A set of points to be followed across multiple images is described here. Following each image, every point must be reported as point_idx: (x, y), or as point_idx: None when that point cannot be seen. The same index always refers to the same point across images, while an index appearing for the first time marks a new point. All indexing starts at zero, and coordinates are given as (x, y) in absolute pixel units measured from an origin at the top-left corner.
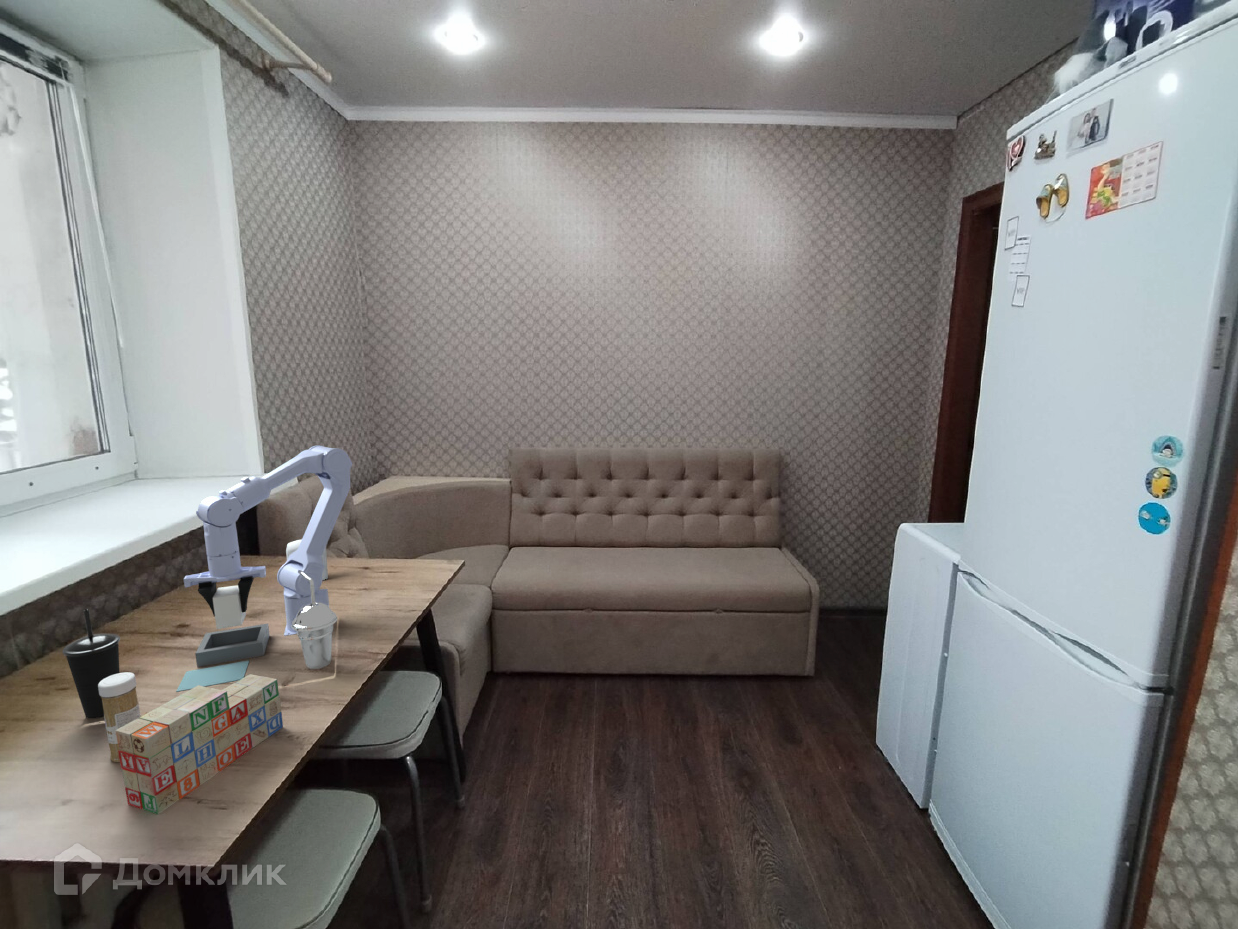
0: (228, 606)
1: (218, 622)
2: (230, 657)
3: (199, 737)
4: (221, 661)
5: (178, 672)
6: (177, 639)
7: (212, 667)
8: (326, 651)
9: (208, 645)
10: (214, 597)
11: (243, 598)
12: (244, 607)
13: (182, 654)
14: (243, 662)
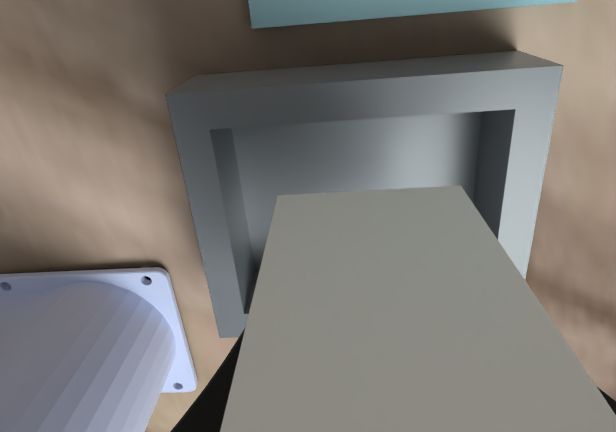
0: (370, 314)
1: (456, 211)
2: (355, 69)
3: None
4: (401, 62)
5: (610, 46)
6: (611, 389)
7: (440, 3)
8: None
9: (489, 215)
10: None
11: (210, 424)
12: (240, 340)
13: (592, 250)
14: (277, 9)
